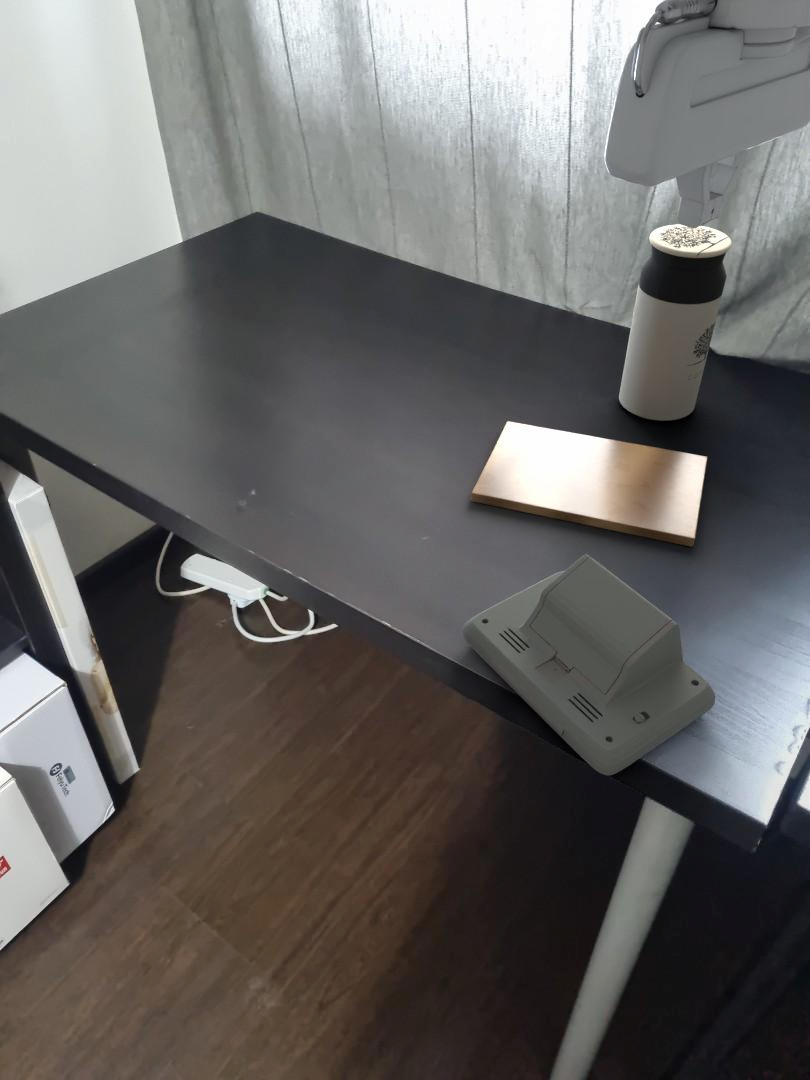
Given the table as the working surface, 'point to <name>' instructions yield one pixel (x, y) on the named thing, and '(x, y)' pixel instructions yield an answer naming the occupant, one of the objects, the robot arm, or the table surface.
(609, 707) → the digital clock
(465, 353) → the table surface
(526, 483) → the wooden board
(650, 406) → the travel mug
